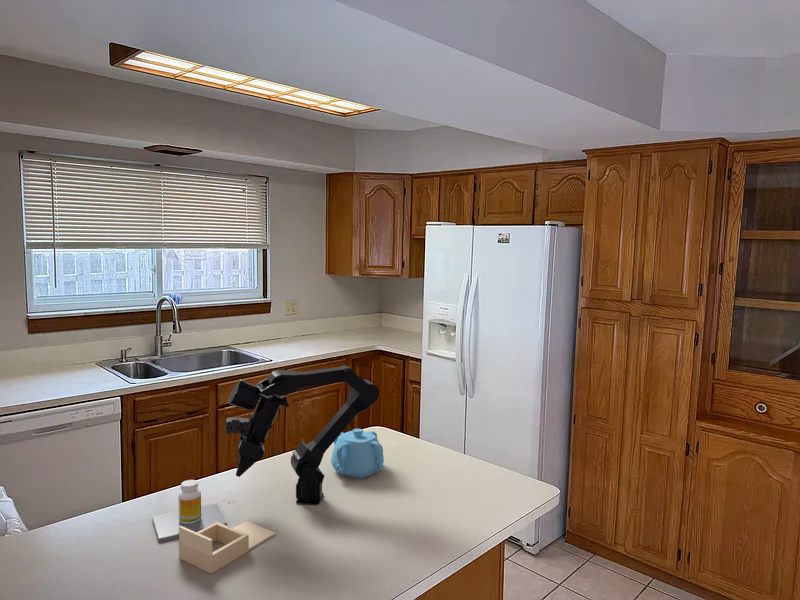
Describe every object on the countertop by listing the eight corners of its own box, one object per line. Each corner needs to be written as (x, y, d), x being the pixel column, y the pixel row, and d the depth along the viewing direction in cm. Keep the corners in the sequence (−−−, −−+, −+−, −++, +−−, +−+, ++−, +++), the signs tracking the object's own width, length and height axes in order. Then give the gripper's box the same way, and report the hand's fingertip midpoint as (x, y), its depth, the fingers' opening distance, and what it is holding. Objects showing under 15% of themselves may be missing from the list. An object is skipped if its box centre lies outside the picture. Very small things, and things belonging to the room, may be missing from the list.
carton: (245, 522, 145) (245, 494, 144) (276, 534, 139) (276, 505, 139) (179, 558, 128) (178, 526, 128) (211, 573, 123) (210, 540, 122)
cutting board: (216, 506, 153) (216, 503, 153) (227, 526, 143) (227, 522, 143) (152, 520, 145) (152, 516, 145) (158, 542, 135) (158, 538, 135)
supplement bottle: (204, 520, 144) (204, 483, 143) (183, 527, 140) (182, 489, 139) (196, 512, 148) (196, 476, 147) (175, 518, 144) (175, 482, 143)
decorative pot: (329, 482, 170) (329, 439, 169) (332, 461, 186) (333, 421, 185) (383, 482, 171) (384, 439, 170) (382, 461, 187) (383, 421, 185)
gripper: (237, 397, 158) (212, 449, 157) (233, 412, 140) (205, 471, 139) (273, 412, 161) (249, 463, 159) (275, 429, 142) (248, 486, 141)
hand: (238, 470), depth 150 cm, fingers open, 9 cm apart
